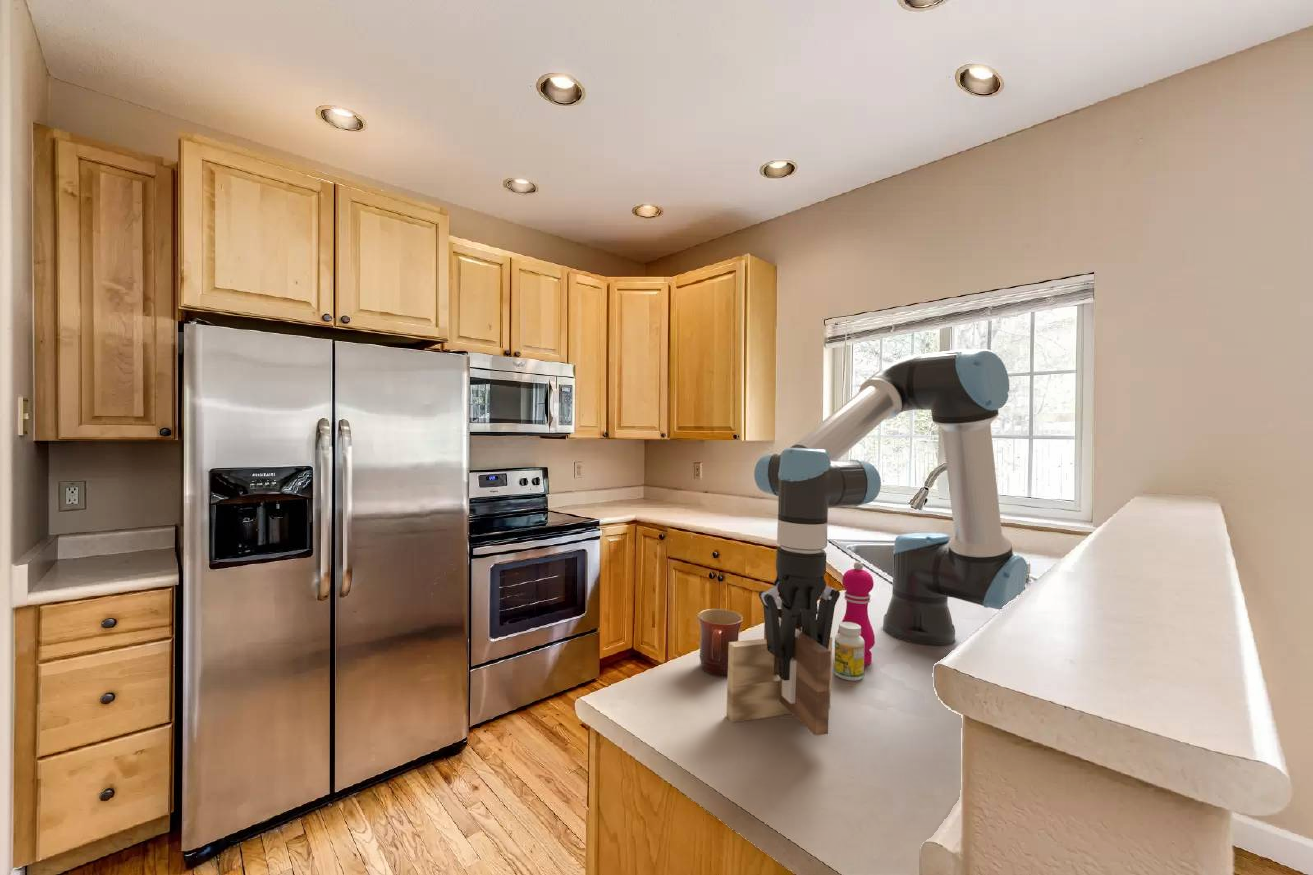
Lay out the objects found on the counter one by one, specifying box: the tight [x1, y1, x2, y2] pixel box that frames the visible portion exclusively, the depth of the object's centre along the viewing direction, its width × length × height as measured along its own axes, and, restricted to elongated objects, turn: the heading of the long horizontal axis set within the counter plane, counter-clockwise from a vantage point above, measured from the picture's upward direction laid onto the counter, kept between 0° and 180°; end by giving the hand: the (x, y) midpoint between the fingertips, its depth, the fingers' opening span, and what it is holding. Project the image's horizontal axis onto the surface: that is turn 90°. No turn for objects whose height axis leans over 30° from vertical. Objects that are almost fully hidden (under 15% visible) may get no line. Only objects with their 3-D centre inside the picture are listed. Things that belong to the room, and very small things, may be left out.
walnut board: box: [763, 617, 831, 736], centre depth 88 cm, size 2×16×12 cm, turn 17°
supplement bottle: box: [833, 621, 865, 682], centre depth 106 cm, size 5×5×10 cm
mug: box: [696, 608, 744, 677], centre depth 106 cm, size 12×9×10 cm
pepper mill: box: [837, 561, 876, 666], centre depth 114 cm, size 7×7×20 cm
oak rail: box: [726, 635, 833, 723], centre depth 92 cm, size 18×2×12 cm, turn 107°
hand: (796, 697), depth 87 cm, fingers closed on walnut board, 2 cm apart
